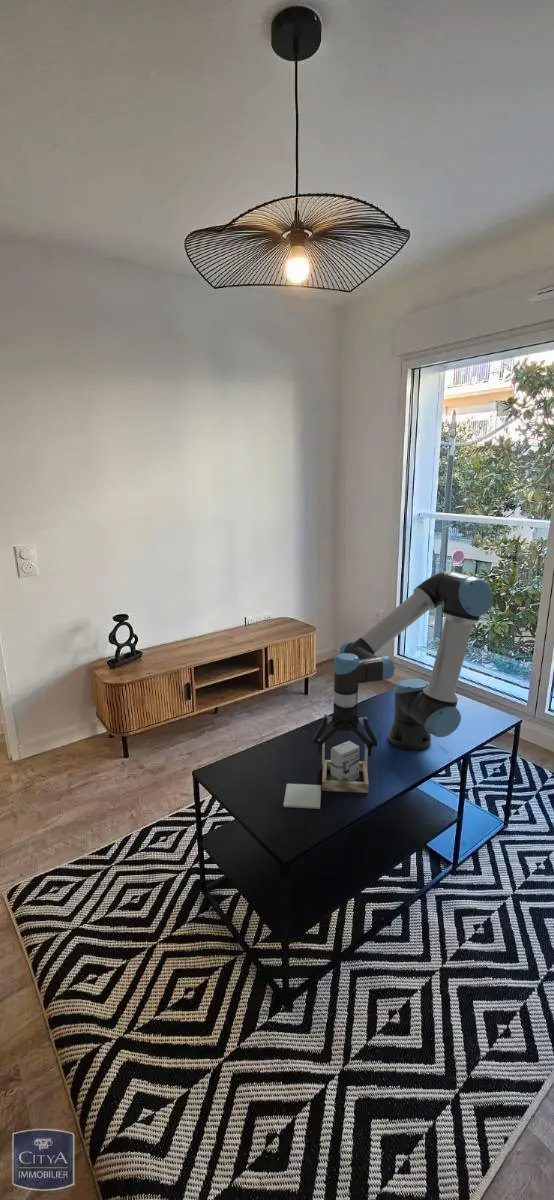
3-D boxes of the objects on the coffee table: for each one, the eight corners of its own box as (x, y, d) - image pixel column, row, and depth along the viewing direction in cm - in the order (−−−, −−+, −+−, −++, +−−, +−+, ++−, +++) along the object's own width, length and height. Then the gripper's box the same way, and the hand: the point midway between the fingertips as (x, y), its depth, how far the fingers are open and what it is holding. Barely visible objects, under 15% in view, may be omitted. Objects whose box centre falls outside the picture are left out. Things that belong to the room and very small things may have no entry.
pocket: (366, 769, 172) (366, 761, 171) (368, 792, 160) (368, 784, 159) (323, 767, 174) (323, 759, 173) (322, 790, 161) (322, 782, 161)
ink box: (340, 788, 162) (340, 754, 159) (329, 781, 166) (329, 748, 163) (359, 778, 167) (360, 746, 164) (349, 771, 171) (349, 739, 168)
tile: (321, 786, 163) (321, 785, 163) (320, 808, 153) (320, 807, 153) (286, 785, 165) (286, 783, 164) (283, 806, 154) (283, 805, 154)
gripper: (385, 699, 162) (382, 759, 167) (306, 696, 165) (306, 755, 170) (387, 709, 155) (384, 772, 160) (304, 706, 158) (305, 767, 163)
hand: (344, 763), depth 165 cm, fingers open, 13 cm apart
